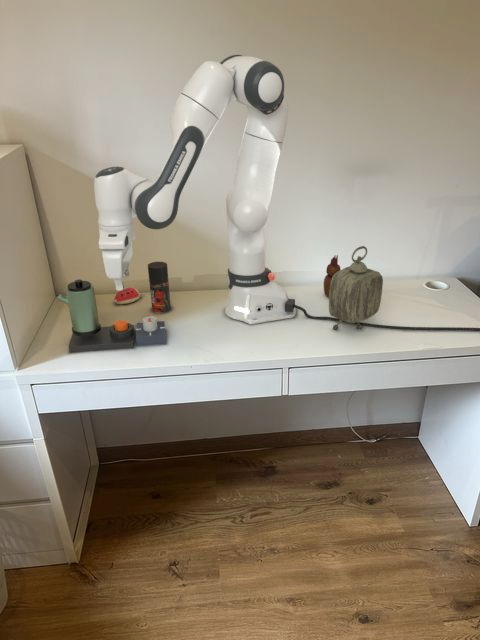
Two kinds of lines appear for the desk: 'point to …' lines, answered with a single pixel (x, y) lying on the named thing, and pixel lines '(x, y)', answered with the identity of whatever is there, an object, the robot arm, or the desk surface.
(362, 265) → the tabletop clock
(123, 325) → the power button
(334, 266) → the wooden figurine
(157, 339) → the control pad
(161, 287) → the deodorant
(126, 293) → the ladybug figurine
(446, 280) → the desk surface
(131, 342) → the kettle base
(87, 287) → the kettle
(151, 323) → the temp dial
